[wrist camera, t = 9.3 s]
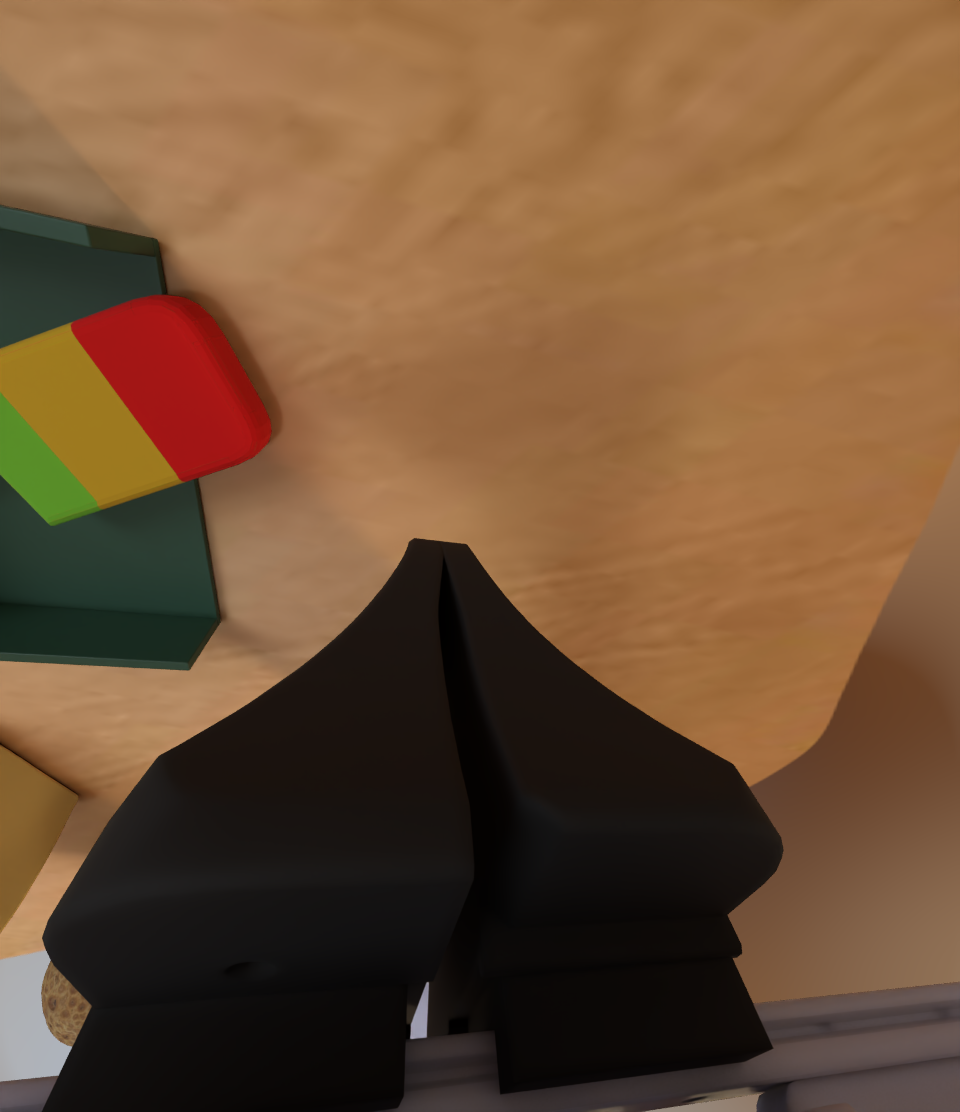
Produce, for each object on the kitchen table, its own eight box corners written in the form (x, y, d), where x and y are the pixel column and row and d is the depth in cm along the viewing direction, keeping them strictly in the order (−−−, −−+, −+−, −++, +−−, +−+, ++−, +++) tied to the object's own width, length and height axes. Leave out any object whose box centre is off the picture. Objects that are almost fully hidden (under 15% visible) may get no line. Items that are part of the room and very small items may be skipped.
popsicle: (289, 440, 17) (273, 456, 15) (-37, 549, 18) (-84, 575, 16) (201, 282, 14) (170, 280, 12) (-182, 424, 15) (-257, 439, 13)
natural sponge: (229, 821, 31) (154, 1018, 22) (258, 875, 36) (204, 1055, 27) (95, 832, 30) (-37, 1043, 21) (142, 886, 35) (50, 1076, 26)
